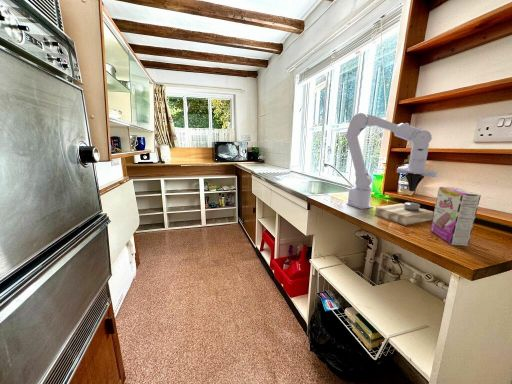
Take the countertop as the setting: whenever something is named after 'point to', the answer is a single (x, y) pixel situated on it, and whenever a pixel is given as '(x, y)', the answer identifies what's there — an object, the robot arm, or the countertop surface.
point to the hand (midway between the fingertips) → (411, 191)
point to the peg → (411, 206)
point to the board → (403, 214)
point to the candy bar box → (454, 215)
